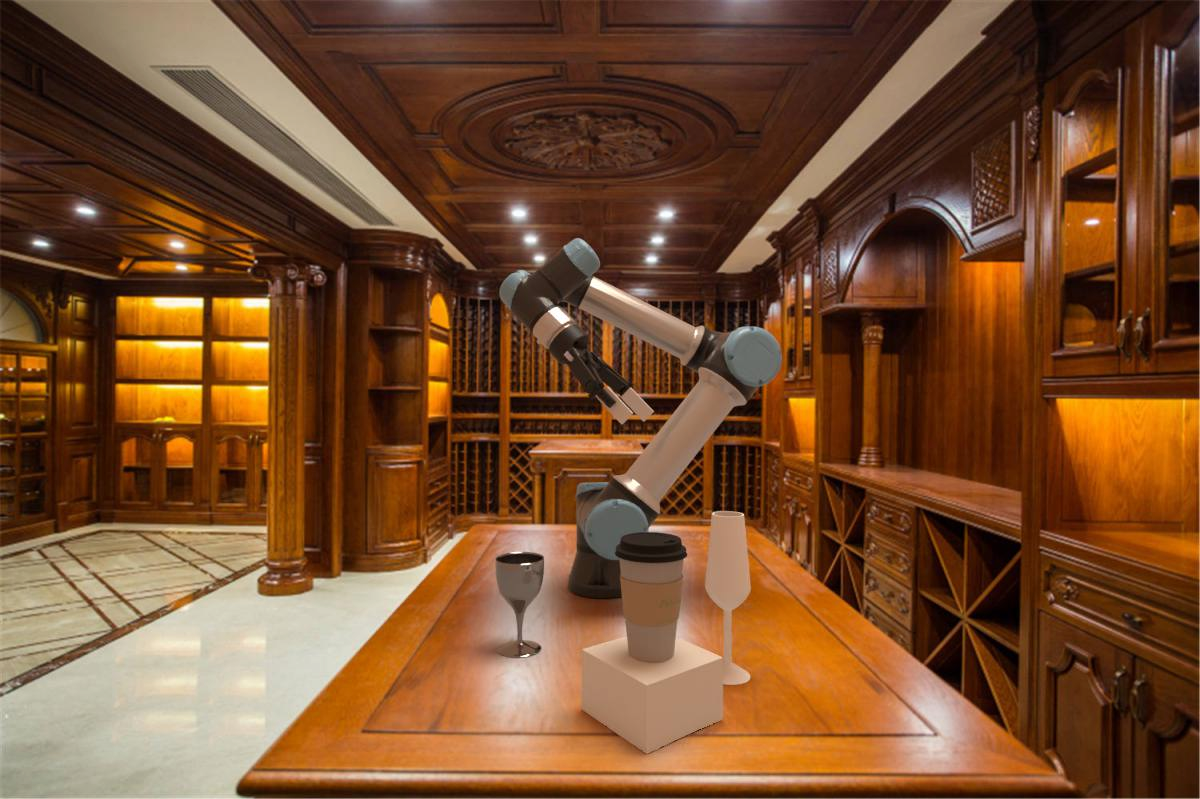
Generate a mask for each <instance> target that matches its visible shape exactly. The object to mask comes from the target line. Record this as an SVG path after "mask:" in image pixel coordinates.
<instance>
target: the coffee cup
mask: <svg viewBox="0 0 1200 799" xmlns="http://www.w3.org/2000/svg"><path fill="white" fill-rule="evenodd" d="M615 555H616V556H617V557H619V559H620V570H621V574H620V582H621V592H622V597H621V601H622V611H623V618H624V619H625V629H626V630H625V631H626V636H627V642H628V651H629V655H630V656H631V657H632V658H634V659H636V660H639V661H643V662H649V663H658V662H664V661H667V660H669V659H670V658H672V657H673V655H674V648H675V639H676V637H677V629H678V628H677V627H678V620H679V618H680V610H681V603H682V602H681V600H682V591H683V580H684V575H683V568H684V560H685V559H686V558H687V557H688V553H687V547H686V546H685V545H683V542H682V539H681V537H680V536H678V535H674V534H673V533H666V532H660V531H659V532H657V531H648V532H638V533H631V534H627V535H624V536H622V537H621V540H620V544H618V545H617V546H616V551H615Z"/></svg>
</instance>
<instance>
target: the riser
mask: <svg viewBox="0 0 1200 799" xmlns="http://www.w3.org/2000/svg"><path fill="white" fill-rule="evenodd" d="M723 661H724V656H723V657H722V656H720V655H719V654H716V653H713V652H712V651H709V650H707V649H705V648H702V647H700V646H698V645H696V644H694V643H691V642H689V641H686V640H684V639H682V638H680V637H677V636H676V639H675V648H674V655H673V657H672V658H670V659H669V660H667V661H664V662H658V663H649V662H643V661H639V660H636V659H634V658H632V657H631V656H630V655H629V651H628V642H627V635H626V636H623V637H619V638H615V639H612V640H609V641H606V642H603V643H598V644H595V645H592V646H589V647H586V648H582V649H581V710H582V711H583V712H585V713H586V714H587V715H589V716H591V717H592V718H593V719H595V720H597V721H598V722H599V723H600V724H602V725H603V726H605V727H606V726H607V727H606V728H608V729H610V730H611V731H612V732H614V733H615V734H617V735H618V736H619V737H621V738H622V739H623V740H625V741H626V742H628V743H629V744H631V745H632V746H634V747H635V746H636V748H637V749H639V750H640V751H641V750H642V751H641V752H643V753H644V754H646V755H648V753H649V754H650V752H651V751H653V752H655V751H657V750H659V748H660V747H662V746H664V747H666V746H668V745H670V744H669V743H671V742H673V741H675V740H677V739H679V738H681V737H683V736H685V735H688V734H690V733H692V732H694V731H696V730H698V729H701V730H703V729H702V728H704V727H706V728H708V727H710V726H713V725H714V724H713V723H715V724H717V723H719V722H721V721H723V720H724V684H723ZM716 722H717V723H716ZM709 725H710V726H709ZM707 726H708V727H707ZM704 729H705V728H704ZM690 735H691V734H690ZM688 736H689V735H688ZM679 740H680V739H679ZM677 741H678V740H677ZM675 742H676V741H675ZM673 743H674V742H673ZM667 744H668V745H667ZM671 744H672V743H671ZM665 745H666V746H665ZM662 748H663V747H662ZM660 749H661V748H660ZM654 750H655V751H654ZM651 753H652V752H651Z"/></svg>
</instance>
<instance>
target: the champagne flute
mask: <svg viewBox="0 0 1200 799" xmlns="http://www.w3.org/2000/svg"><path fill="white" fill-rule="evenodd" d="M709 529H710V531H709V540H708V550H707V559H706V560H707V561H706V571H705V581H704V588H705V591H706V593H707V596H709V598H710V599H711V600H712V601H713V603H715V604H716V605H717V607H719V608H720V609H722V610H723V685H727V686H735V685H736V686H737V685H742V684H743V685H744V684H746V683H747V682H749V681H750V679H751V674H750V672H749V671H747V670H746V669H744V668H742V667H740V666H739V665H737V664H736V663H734V662H732V660H733V659H732V656H733V654H732V653H733V651H732V650H733V646H732V644H733V642H732V639H733V636H732V631H733V627H732V625H733V623H732V622H733V621H732V619H733V618H732V615H733V614H732V613H733V612H732V611H733V610H735V609H737V608H738V607H739V606H740V605H742V604H743V603H744V602H745V601H746V600H747V598H748V597H749V595H750V593H751V589H752V587H751V586H752V585H751V575H750V566H749V565H750V564H749V554H748V553H749V552H748V543H747V542H748V541H747V531H746V521H745V514H744V513H743V512H738V511H731V510H730V511H729V510H720V511H719V510H717V511H713V512H711V518H710V527H709Z"/></svg>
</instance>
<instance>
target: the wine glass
mask: <svg viewBox="0 0 1200 799" xmlns="http://www.w3.org/2000/svg"><path fill="white" fill-rule="evenodd" d="M494 561H495V568H494V569H495V578H496V584H497V589H498V591H499V594H500V595H501V597H502V598H503V599H504V600H505V601H506V603H507V604H508V605H509V606H510V607H511V609H512V610H513V612H514V615H515V620H516V627H517V629H516V631H517V632H516V633H517V636H516V637H517V639H516V640H512V641H507V642H504V643H502V644H501V645H500V646H499V647H498V649H497V652H498V654H499V655H501V656H503V657H506V658H512V659H516V658H517V659H520V658H521V659H522V658H528V657H532V656H535V655H537V654H539V653H540V652H541V650H542V648H543V647H542V646H541V644H540V643H539V642H536V641H532V640H527V639H523V626H524V623H523V622H524V618H525V613H526V611H527V609H528V607H529V606H530V605H531V604H532V602H533V601H534V600H535V599H536V597H537V596H538V595H539V593H540V591H541V589H542V586H543V581H544V575H545V574H544V572H545V556H544V555H543V554H541V553H537V552H533V551H532V552H531V551H515V552H513V551H512V552H506V553H501V554H500V555H497V556H496V557H495V560H494Z"/></svg>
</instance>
